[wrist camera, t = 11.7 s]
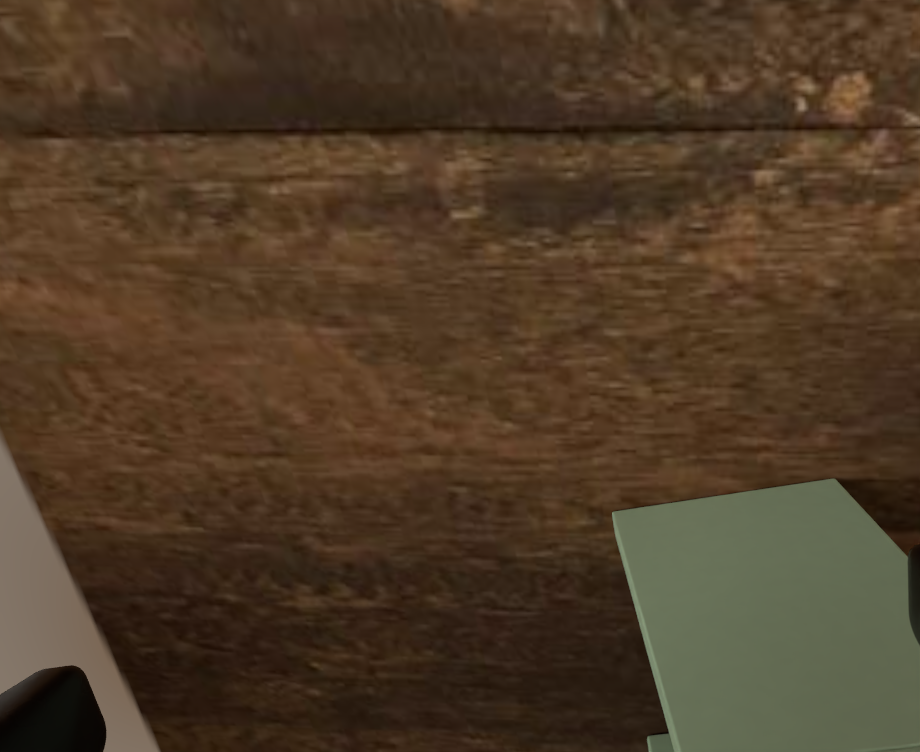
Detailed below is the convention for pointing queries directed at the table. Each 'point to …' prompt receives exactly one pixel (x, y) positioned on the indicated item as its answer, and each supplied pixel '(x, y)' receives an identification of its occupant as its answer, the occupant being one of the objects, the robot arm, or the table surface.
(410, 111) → the table surface
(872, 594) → the sage green block
